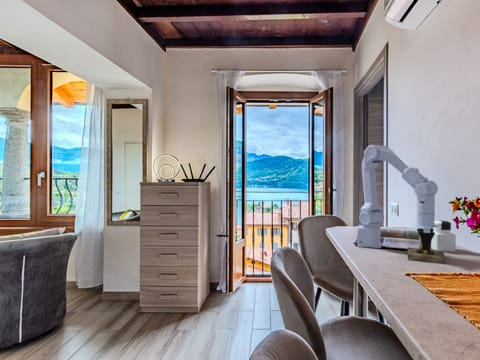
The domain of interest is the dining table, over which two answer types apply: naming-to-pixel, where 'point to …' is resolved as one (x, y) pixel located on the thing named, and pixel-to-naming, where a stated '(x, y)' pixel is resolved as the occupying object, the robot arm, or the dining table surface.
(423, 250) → the brass peg
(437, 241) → the medicine bottle
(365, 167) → the robot arm
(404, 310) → the dining table surface
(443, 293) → the dining table surface
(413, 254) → the square tan frame
